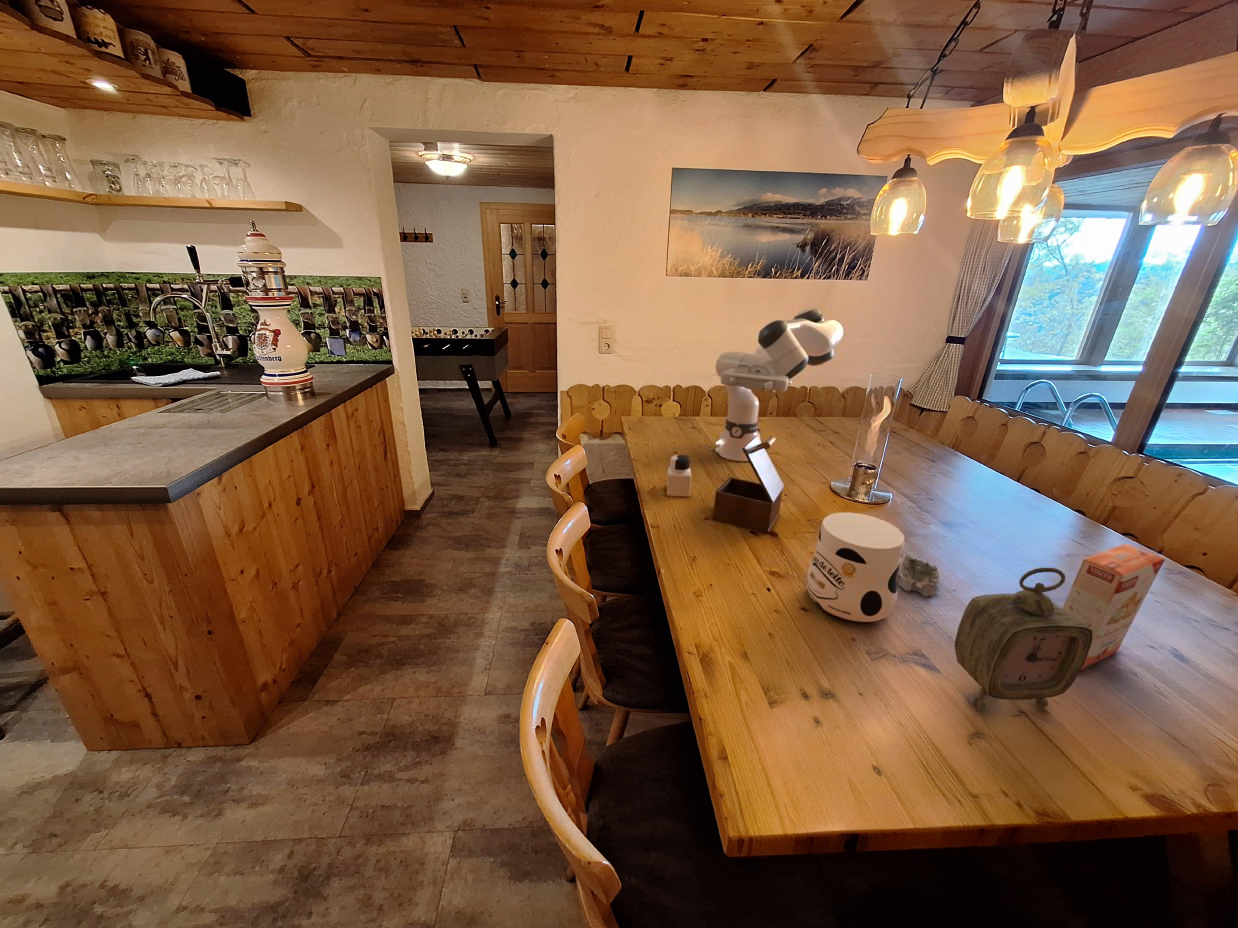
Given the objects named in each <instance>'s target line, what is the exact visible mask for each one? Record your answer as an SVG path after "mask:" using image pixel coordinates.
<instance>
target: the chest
mask: <svg viewBox="0 0 1238 928" xmlns="http://www.w3.org/2000/svg"><path fill="white" fill-rule="evenodd" d="M783 489H784V488H783ZM783 489H782V490H781V492H780V493H779V495H778V496H777V498H776V499H775V501H774V502H773V503H770V501H769V499H768V497H767V495H766V493H765V491H764V489H763V488H762V486H761V484H760V482H756V481H751V480H746V479H741V478H737V477H732V476H730V477H728V478H727V479H726V481H724V482H723V483H722V484H721V485H720V486H719V488H718V489H716V491H715V495H714V506H713V515H712V520H713V521H717V522H721V523H726V524H728V525H732V526H737V527H740V528H745V529H748V530H751V531H756V532H760V533H764V534H769V532H770V531H771V529H772V528H773V526H774V524H775V523H776V521H777V519H778V517H779V515H780V509H781V504H782V503H781V502H782V496H783Z"/></svg>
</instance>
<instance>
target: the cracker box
mask: <svg viewBox="0 0 1238 928" xmlns="http://www.w3.org/2000/svg"><path fill="white" fill-rule="evenodd" d="M1165 561H1166V559H1165V558H1163V557H1161V556H1159V555H1157V554H1154V553H1152V552H1148V551H1146V550H1143V549H1140V548H1138V547H1136V546H1133V545H1131V544H1127V543H1123V544H1121V545H1119V546H1115V547H1112V548H1110V549H1107V550H1105V551H1104V550H1103V551H1102V552H1099V553H1096V554H1093V555H1091V556H1087V557H1084V558H1083V560H1082V562H1081V564H1080V567H1079V569H1078V571H1077V573H1076V576H1075V577H1074V580H1073V582H1072V585H1071V587H1070V589H1069V591H1068V594H1067V596H1066V598H1065V600H1064V602H1063V605H1062V606H1061V609H1063V610H1064V611H1066V612H1067V613H1068V614H1070V615H1071V616H1073V617H1074V618H1076V619H1077V620H1078V621H1080V622H1081V623H1083V624H1084V625H1085V626H1087V627H1088V628H1090V629H1091V630H1092V642H1091V646H1090V649H1089V652H1088V655H1087V657H1086V660H1085V663H1084V665H1083V666H1082V668H1081V670H1080V671H1082V670H1084V669H1086V668H1088V667H1090V666H1092V665H1094V664H1096V663H1097V662H1099V661H1102V660H1104V659H1106V658H1107V657H1109V656H1111V655H1114V654H1116V653H1117V652H1118V651H1119V649H1120V647H1121V645H1122V643H1123V641H1124V639H1125V637H1126V636H1127V634H1128V631H1130V630H1129V629H1130V628H1131V626H1132V624H1133V622H1134V620H1135V618H1136V616H1137V615H1138V612H1139V611H1140V608H1141V607H1142V604H1143V602H1144V601H1145V599H1146V597H1147V595H1148V593H1149V591H1150V589H1151V587H1152V585H1153V583H1154V582H1155V580H1156V578H1157V576H1158V574H1159V572H1160V570H1161V568H1162V566H1163V564H1165V563H1164V562H1165Z"/></svg>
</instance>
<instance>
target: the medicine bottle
mask: <svg viewBox="0 0 1238 928" xmlns="http://www.w3.org/2000/svg"><path fill="white" fill-rule="evenodd" d="M669 464H670V465H669V467H668V468H667V481H666V495H667V496H670V497H684V498H685V497H686V498H687V497H691V487H692V485H691V484H692V469H691V467H690V465H691V458H690V457H688V456H687V455H684V454H675V455H672V456H671V457H670V463H669Z"/></svg>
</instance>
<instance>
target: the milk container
mask: <svg viewBox="0 0 1238 928" xmlns="http://www.w3.org/2000/svg"><path fill="white" fill-rule="evenodd" d="M904 549H905V534H904V533H903V532H902V531H901V530H900V529H899V528H898V527H897V526H895V525H893V524H892V523H890V522H888V521H886V520H883V519H881V518H878V517H875V516H872V515H868V514H865V513H864V514H863V513H856V512H835V513H831V514H828V515H827V516H825V517H824V518H823V519H822V522H821V525H820V529H819V533H818V538H817V541H816V550H815V554H814V557H813V559H812V561H811V562H810V564H809V566H808V569H807V572H806V577H805V579H806V580H805V583H806V584H805V585H806V586H805V587H806V591H807V594H808V595H809V598H810V600H811V601H812V602H813V603H814V604H815V605H816V606H817V607H818V608H819V609H821V610H823V611H825V612H826V613H827V614H830V615H831V616H832V617H836V618H839V619H841V620H844V621H847V622H848V621H849V622H854V623H858V624H859V623H860V624H861V623H864V624H865V623H876V622H879V621H882V620H884V619H885V618H887V617H888V616H889V615H890V613H891V612H892V610H893V609H894V608H895V604H896V603H897V599H898V582H897V580H898V579H897V578H898V573H899V571H900V568H901V564H902V561H903V560H902V557H903V555H904V551H905V550H904Z"/></svg>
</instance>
